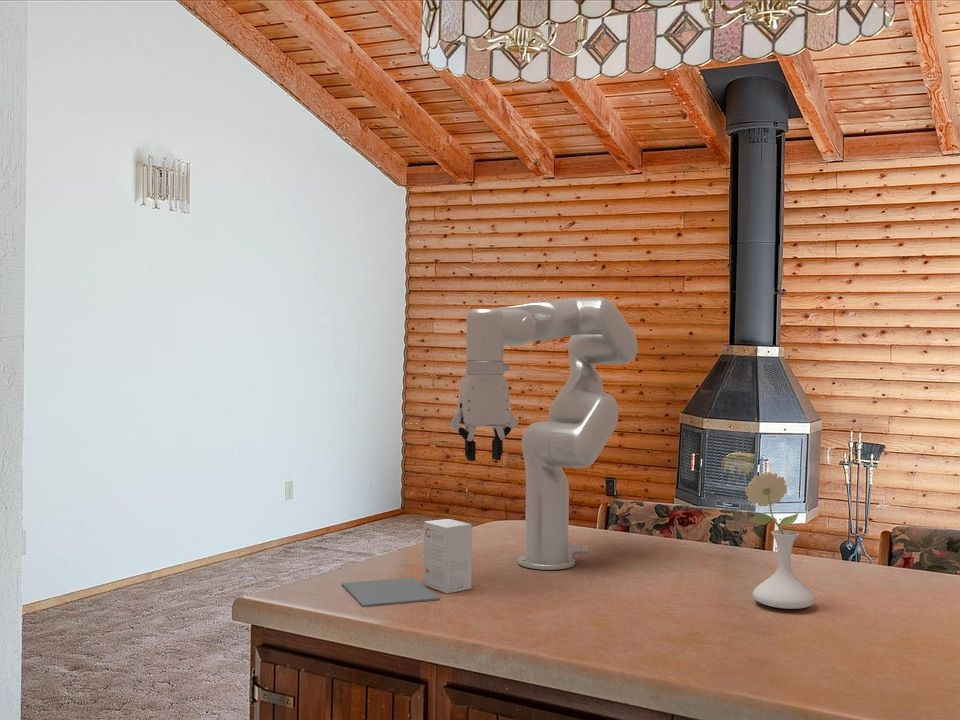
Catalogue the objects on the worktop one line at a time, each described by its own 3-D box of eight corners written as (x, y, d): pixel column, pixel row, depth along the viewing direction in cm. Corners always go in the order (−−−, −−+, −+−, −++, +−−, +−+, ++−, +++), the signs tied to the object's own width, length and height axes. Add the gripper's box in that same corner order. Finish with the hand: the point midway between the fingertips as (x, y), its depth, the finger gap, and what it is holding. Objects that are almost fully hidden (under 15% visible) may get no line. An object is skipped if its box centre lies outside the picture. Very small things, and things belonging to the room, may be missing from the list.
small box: (472, 589, 188) (472, 523, 188) (446, 594, 184) (446, 527, 184) (448, 581, 194) (448, 517, 194) (422, 585, 190) (423, 521, 190)
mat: (413, 579, 195) (413, 577, 195) (440, 599, 180) (440, 597, 179) (341, 585, 190) (341, 583, 190) (362, 607, 174) (362, 604, 174)
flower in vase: (815, 601, 181) (817, 470, 181) (816, 616, 171) (818, 478, 170) (745, 594, 186) (746, 467, 185) (741, 609, 175) (743, 474, 175)
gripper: (515, 369, 198) (514, 456, 198) (438, 369, 192) (437, 459, 192) (530, 370, 191) (529, 460, 191) (451, 370, 185) (450, 463, 185)
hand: (483, 459), depth 191 cm, fingers open, 4 cm apart
